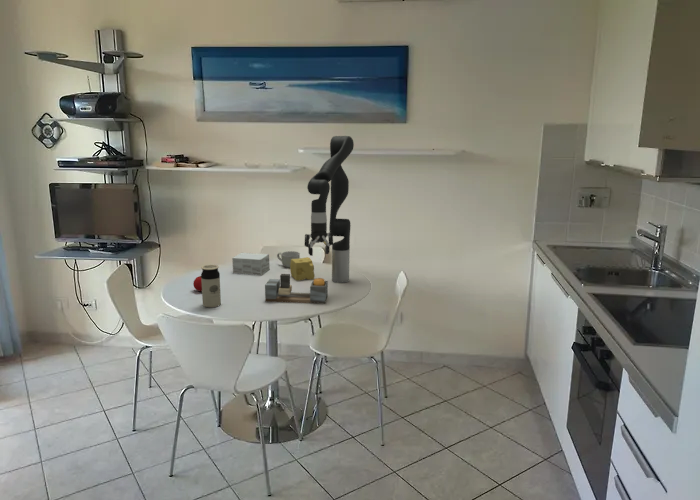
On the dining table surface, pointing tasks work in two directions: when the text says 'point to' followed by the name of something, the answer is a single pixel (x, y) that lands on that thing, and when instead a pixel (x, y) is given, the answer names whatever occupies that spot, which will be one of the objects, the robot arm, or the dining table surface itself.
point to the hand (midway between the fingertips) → (319, 254)
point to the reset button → (319, 282)
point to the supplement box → (251, 264)
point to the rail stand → (315, 296)
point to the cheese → (302, 269)
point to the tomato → (198, 284)
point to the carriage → (285, 284)
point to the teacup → (288, 257)
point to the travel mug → (210, 286)
